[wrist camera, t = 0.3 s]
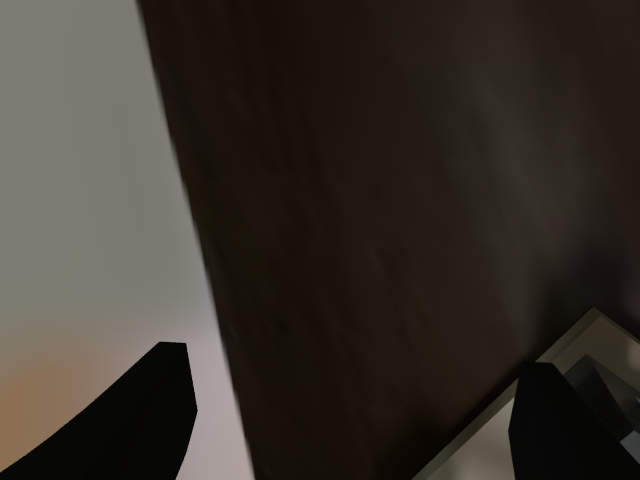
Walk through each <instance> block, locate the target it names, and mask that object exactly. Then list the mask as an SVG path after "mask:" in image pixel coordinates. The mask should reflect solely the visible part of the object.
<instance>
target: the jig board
mask: <svg viewBox="0 0 640 480" xmlns="http://www.w3.org/2000/svg"><path fill="white" fill-rule="evenodd" d="M585 354H588V355H589V356H591V357H592V358H593V359H595V360H596V361H598V362H599V363H600V364H602V365H603V366H605V367H606V368H607V369H609V370H610V371H612V372H613V373H614V374H616V375H617V376H619V377H620V378H621V379H623V380H624V381H626V382H627V383H628V384H630V385H631V386H633V387H634V388H635V389H637V390H638V391H640V340H638V339H637V338H636V337H634V336H633V335H632V334H630V333H629V332H628V331H626V330H625V329H623V328H622V327H621V326H619V325H618V324H617V323H615V322H614V321H612V320H611V319H610V318H608V317H607V316H606V315H604V314H603V313H602V312H600V311H599V310H597V309H596V308H595V307H592V308H591V309H590V310H589V311H588V312H587V313H586V314H585V315H584V316H583V317H582V318H580V319H579V320H578V321H577V322H576V323H575V324H574V325H573V326H572V327H571V328H570V329H569V330H568V331H567V332H566V333H565V334H564V335H563V336H562V337H561V338H559V339H558V340H557V341H556V342H555V343H554V344H553V345H552V346H551V347H550V348H549V349H548V350H547V351H546V352H545V353H544V354H543V355H542V356H541V357H540V358H538V359H537V360H536V361H535V362H550V363H553V364H554V365H555V366H556V367H557V368H558V370H559V371H560V372H561V373H562V375H564V374H565V373H566V372H567V371H568V370H569V369H570V368H571V367H572V366H573V365H574V364H576V363H577V362H578V361H579V360H580V359H581V358H582V357H583V356H584V355H585ZM517 383H518V378H517V379H516V380H515V381H514V382H513V383H512V384H511V385H510V386H509V387H508V388H507V389H506V390H505V391H504V392H503V393H502V394H501V395H500V396H499V397H498V398H496V399H495V400H494V401H493V402H492V403H491V404H490V405H489V406H488V407H487V408H486V409H485V410H484V411H483V412H482V413H481V414H480V415H479V416H478V417H477V418H475V419H474V420H473V421H472V422H471V423H470V424H469V425H468V426H467V427H466V428H465V429H464V430H463V431H462V432H461V433H460V434H459V435H458V436H457V437H456V438H454V439H453V440H452V441H451V442H450V443H449V444H448V445H447V446H446V447H445V448H444V449H443V450H442V451H441V452H440V453H439V454H438V455H437V456H436V457H435V458H433V459H432V460H431V461H430V462H429V463H428V464H427V465H426V466H425V467H424V468H423V469H422V470H421V471H420V472H419V473H418V474H417V475H416V476H415V477H414V478H412V479H411V480H515V476H514V470H513V463H512V457H511V450H510V443H509V436H508V428H509V423H510V418H511V413H512V408H513V403H514V398H515V393H516V388H517Z"/></svg>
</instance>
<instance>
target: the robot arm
mask: <svg viewBox="0 0 640 480" xmlns="http://www.w3.org/2000/svg"><path fill="white" fill-rule="evenodd" d="M197 411H198V410H197V404H196V399H195V392H194V387H193V381H192V375H191V369H190V363H189V358H188V352H187V346H186V343H176V342H159V343H157V344H156V345H155V346H154V347H153V348H152V349H151V350H150V351H148V352H147V353H146V354H145V355H144V356H143V357H142V358H141V359H140V360H139V361H137V362H136V363H135V364H134V365H133V366H132V367H131V368H130V369H129V370H128V371H127V372H125V373H124V374H123V375H122V376H121V377H120V378H119V379H118V380H117V381H116V382H114V383H113V384H112V385H111V386H110V387H109V388H108V389H107V390H106V391H104V392H103V393H102V394H101V395H100V396H99V397H98V398H96V399H95V400H94V401H93V402H92V403H91V404H90V405H88V406H87V407H86V408H85V409H84V410H83V411H81V412H80V413H79V414H78V415H76V416H75V417H74V418H73V419H71V420H70V421H69V422H68V423H67V424H65V425H64V426H63V427H62V428H60V429H59V430H58V431H57V432H56V433H54V434H53V435H52V436H51V437H49V438H48V439H47V440H45V441H44V442H43V443H41V444H40V445H39V446H37V447H36V448H35V449H33V450H32V451H30V452H29V453H28V454H27V455H25V456H23V457H22V458H21V459H19V460H18V461H16V462H15V463H13V464H12V465H10V466H9V467H8V468H6V469H5V470H3V471H2V472H0V480H175V479H176V477H177V475H178V472H179V470H180V467H181V465H182V462H183V460H184V457H185V455H186V452H187V448H188V445H189V441H190V437H191V434H192V430H193V426H194V423H195V419H196V415H197ZM508 436H509V443H510V450H511V457H512V463H513V470H514V476H515V480H640V464H639V463H638V462H637V461H636V459H635V458H634V457H633V456H632V455H631V454H630V453H629V452H628V451H627V450H626V449H625V448H624V446H623V445H622V444H621V443H620V442H619V441H618V440H617V439H616V437H615V436H614V435H613V434H612V433H611V432H610V431H609V430H608V429H607V427H606V426H605V425H604V424H603V423H602V422H601V420H600V419H599V418H598V417H597V416H596V415H595V413H594V412H593V411H592V410H591V409H590V408H589V406H588V405H587V404H586V403H585V402H584V400H583V399H582V398H581V397H580V395H579V394H578V393H577V392H576V391H575V389H574V388H573V387H572V386H571V384H570V383H569V382H568V381H567V380H566V378H565V377H564V376H563V375H562V373H561V372H560V371H559V370H558V368H557V367H556V366H555V365H554V364H553V363H550V362H531V361H522V363H521V368H520V373H519V378H518V383H517V388H516V393H515V398H514V403H513V408H512V413H511V418H510V423H509V428H508Z"/></svg>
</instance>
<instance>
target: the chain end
mask: <svg viewBox="0 0 640 480" xmlns="http://www.w3.org/2000/svg"><path fill="white" fill-rule="evenodd" d="M563 376H564V377H565V378H566V380H567V381H568V382H569V383H570V384H571V386H572V387H573V388H574V389H575V391H576V392H577V393H578V394H579V395H580V397H581V398H582V399H583V400H584V402H585V403H586V404H587V405H588V406H589V408H590V409H591V410H592V411H593V412H594V413H595V415H596V416H597V417H598V418H599V419H600V420H601V422H602V423H603V424H604V425H605V426H606V427H607V429H608V430H609V431H610V432H611V433H612V434H613V435H614V436H615V437H616V439H617V440H618V441H619V442H620V443H621V444H622V445H623V446H624V448H625V449H626V450H627V451H628V452H629V453H630V454H631V455H632V456H633V457H634V458H635V459H636V461H637V462H638V463H639V464H640V391H638V390H637V389H635V388H634V387H633V386H631V385H630V384H628V383H627V382H626V381H624V380H623V379H621V378H620V377H619V376H617V375H616V374H614V373H613V372H612V371H610V370H609V369H607V368H606V367H605V366H603V365H602V364H600V363H599V362H598V361H596V360H595V359H593V358H592V357H591V356H589V355H588V354H585V355H584V356H583V357H582V358H581V359H580V360H579V361H578V362H577V363H576V364H574V365H573V366H572V367H571V368H570V369H569V370H568V371H567V372H566V373H565V374H564V375H563Z"/></svg>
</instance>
